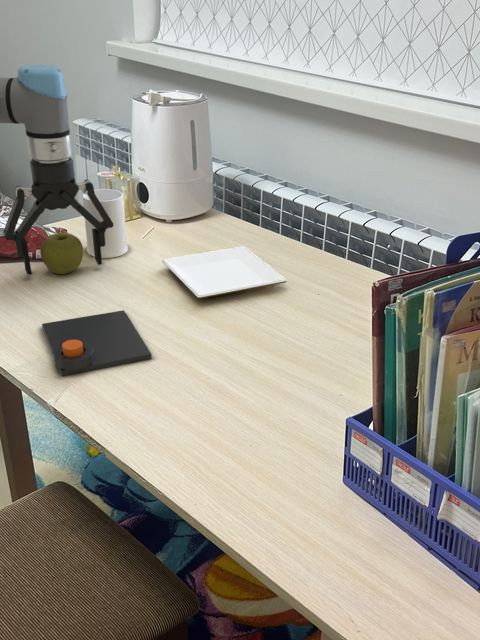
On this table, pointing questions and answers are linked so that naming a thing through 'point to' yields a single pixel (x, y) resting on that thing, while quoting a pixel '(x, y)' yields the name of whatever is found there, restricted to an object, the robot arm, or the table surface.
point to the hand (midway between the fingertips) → (64, 266)
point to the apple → (61, 253)
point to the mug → (115, 211)
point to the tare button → (72, 348)
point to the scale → (96, 342)
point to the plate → (223, 271)
